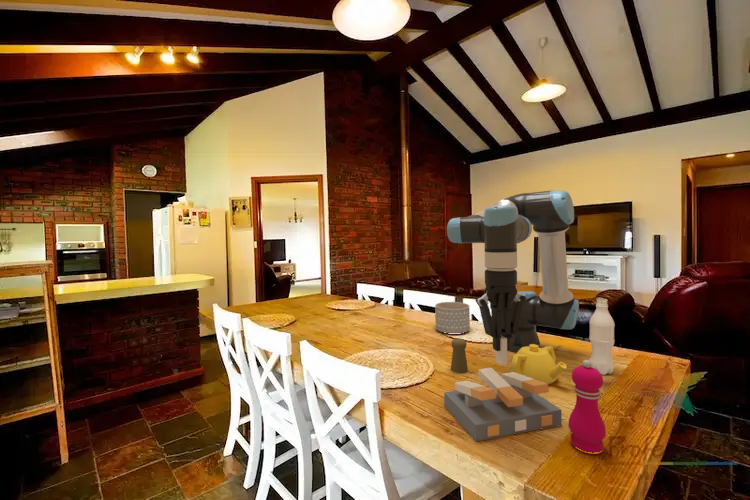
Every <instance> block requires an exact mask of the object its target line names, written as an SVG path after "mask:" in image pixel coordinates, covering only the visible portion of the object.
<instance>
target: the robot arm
mask: <svg viewBox="0 0 750 500" xmlns="http://www.w3.org/2000/svg"><path fill="white" fill-rule="evenodd" d="M574 221H575V207H574V203H573V199H572V196H571V195H570V193H569V192H568V191H566V190H552V189H551V190H546V191H545V190H544V191H536V192H523V193H518V194H514V195H510V196H508V197H505V198H503V199H501V200H498V201H496V202H495V203H494V204H493V205H492V206H487V207H486V208H485V209H483V210H481V211H479V212H476V213H474V214H471V215H468V216H464V217H453V218H451V219H450V220H449V221H448V223H447V226H446V235H447V238H448V240H449V241H450V242H451V243H455V244H462V245H463V244H484V267H485V268H486V269H485V270H484V284H485V289H484V291H483V293H484V294H483V295H482V296H481V297H476V298H475V302H476V304H477V305H478V307H479V312H480V315H481V320H482V324H483V328H484V329H483V330H484V333H485V335H488V336H489V337H492V349H493V351H495V352H494V353H495V354H494V355H495V359H494V360H495V362H496V363H498V364H499V365H501V366H504V365H508V351H509V352H513V353H517V352H518V351H519V350H520V348H522V347H526V346H529V345H530V344H535V345H538V346H539V348H542V347H541V346H542V345H541V342H540V338H539V336H538V333H537V326H541V327H549V328H555V329H560V330H573V329H574V328H575V326H576V324H577V318H578V315H579V308H580V307H579V306H580V302H579V300H578V299H576V298H574V294H573V292H571V291H570V290H569V281H568V280H569V279H568V264H567V260H568V259H567V250H566V249H567V248H566V247H567V246H566V233H565V232H567V231H568V230H569V229H570V225H571V224H573V223H574ZM532 231H533V232H534V233H535V234H537V237H538V248H539V249H538V250H539V259H540V269H541V272H540V273H541V281H542V291H541V292H540V293H539V295H537V293H536V292H535V291H531V290H528V291H527V290H526V291H525V290H523V291H518V289H517V287H516V285H517V284H518V271H517V267H518V244H520V243H523V242H525V241H527V240H528V239H529V237H530V236H531V234H532Z"/></svg>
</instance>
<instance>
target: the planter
mask: <svg viewBox="0 0 750 500" xmlns="http://www.w3.org/2000/svg"><path fill="white" fill-rule="evenodd" d="M434 308H435V309H434V312H435V317H434V318H435V330H437V331H439V332H440V333H442V332H446V333H463V332H465V333H467V332H469V331H470V330H471V327H470V326H471V322H470V321H471V320H470V316H471V315H470V314H471V313H470V305H469V304H468V303H465V302H460V301H442V302H438V303H436V304H435V306H434ZM442 334H443V333H442ZM463 334H464V333H463Z"/></svg>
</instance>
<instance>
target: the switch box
mask: <svg viewBox="0 0 750 500" xmlns="http://www.w3.org/2000/svg"><path fill="white" fill-rule="evenodd" d="M508 384H509V383H508ZM509 385H510V386H511V387H512V388H513V389H515V390H516V391H517V392H518V393H519V394H520V395H521V396H522V397H523V405H519V406H513V407H508V406H507V405H506V404H505V403H504V402H503V401H502V400H501V399H500V398H499V397H498V396H497V395H496V398H494V399H488V400H479V399H477V398H474V397H472V396H469V395H467V394H464V393H462V392H459V391H456V390H451V391H445V392H444V393H443V398H444V399H443V403H444V407H445V408H446V410H447V411H448V412H449V413H450V414H451V415H452V416H453V418H454V419H455V420H456V421H457V422H458V424H460V425H461V427H462V428H463V429H464V430H465V432H466V433H468V435H469V436H470V437H471V439H473V440H474V441H475V442H480V441H481V442H482V441H487V440H491V439H496V438H497V439H498V438H502V437H506V436H507V437H508V436H512V435H518V434H522V433H527V432H532V431H538V430H537V429H539V430H542V429H541V428H544V429H548V428H547V427H549V428H553V427H552V426H554V427H559V426H562V409H561V408H560V407H558V406H557V405H555V404H553V403H552V402H551V401H549V400H548V399H545V398H544V396H543V397H542V396H541V395H540V394H534V393H531V392H529V391H526V390H524V389H521V388H519V387H516V386H514V385H511V384H509ZM486 387H489V386H488V385H486ZM489 388H490V387H489ZM558 425H559V426H558Z"/></svg>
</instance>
